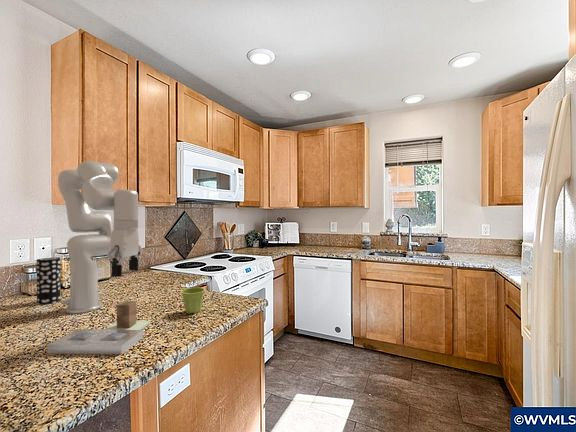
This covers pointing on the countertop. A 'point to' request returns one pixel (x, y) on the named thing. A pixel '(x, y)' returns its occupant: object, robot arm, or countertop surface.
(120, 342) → the socket plate
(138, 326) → the sage pad
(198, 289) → the plant pot
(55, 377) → the countertop surface
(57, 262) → the spotted tube
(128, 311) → the walnut block
